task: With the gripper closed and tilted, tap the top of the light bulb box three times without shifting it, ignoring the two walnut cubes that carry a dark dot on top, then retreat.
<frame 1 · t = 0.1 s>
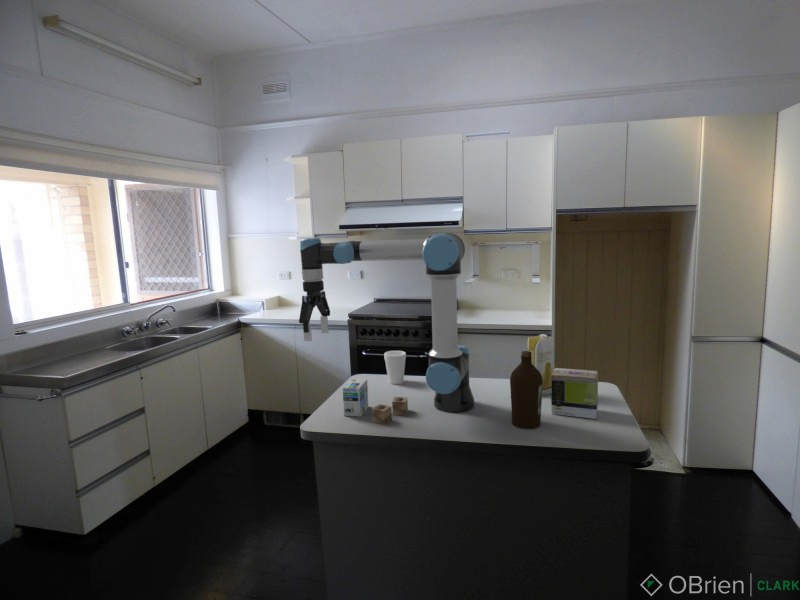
hand: (316, 336, 180), 28 cm above the table, tool pointing down, fingers open, 13 cm apart
walnut cube A: (400, 412, 177), on the table
foam cup: (396, 382, 212), on the table
tea box: (574, 412, 172), on the table
walnut cube B: (382, 421, 170), on the table
light bulb box: (356, 411, 180), on the table
juice carton: (540, 393, 192), on the table
olive oil: (526, 424, 163), on the table
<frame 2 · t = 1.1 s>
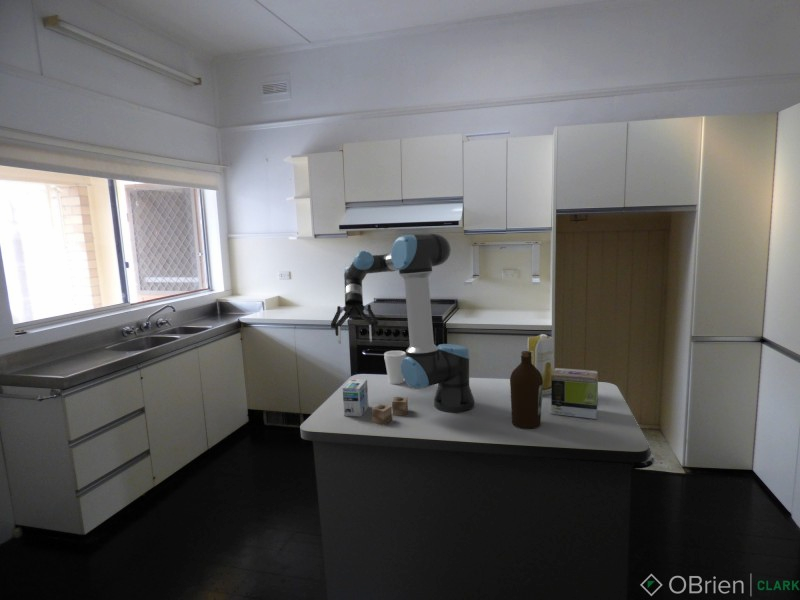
hand: (355, 341, 191), 23 cm above the table, tool tilted 45°, fingers open, 12 cm apart
nothing on the table moved.
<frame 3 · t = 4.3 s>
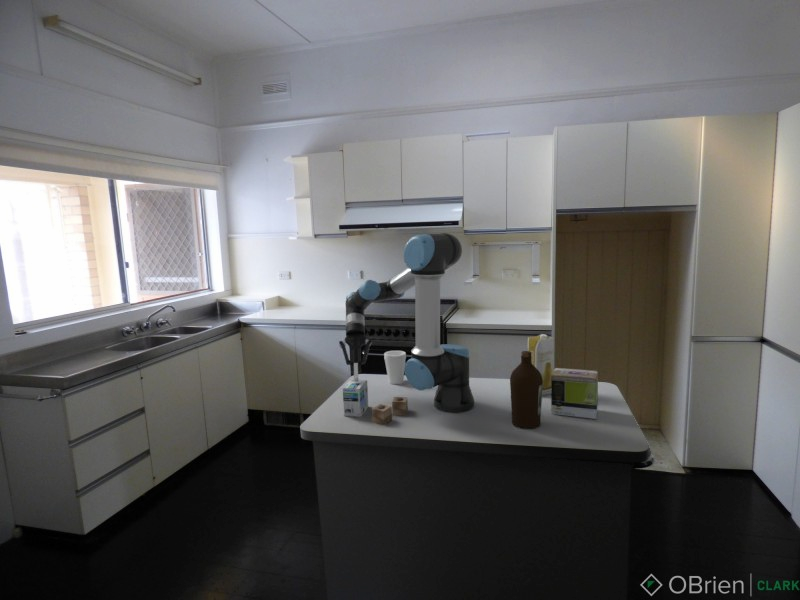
hand: (356, 380, 179), 12 cm above the table, tool tilted 45°, fingers closed
light bulb box: (356, 412, 180), on the table, touching gripper
everything else where it was.
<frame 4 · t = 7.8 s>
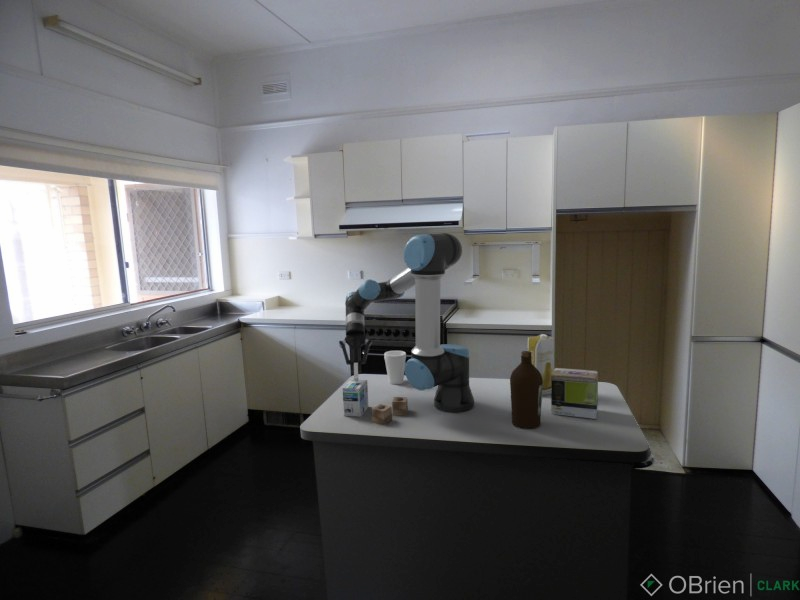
hand: (356, 379, 179), 12 cm above the table, tool tilted 45°, fingers closed
nothing on the table moved.
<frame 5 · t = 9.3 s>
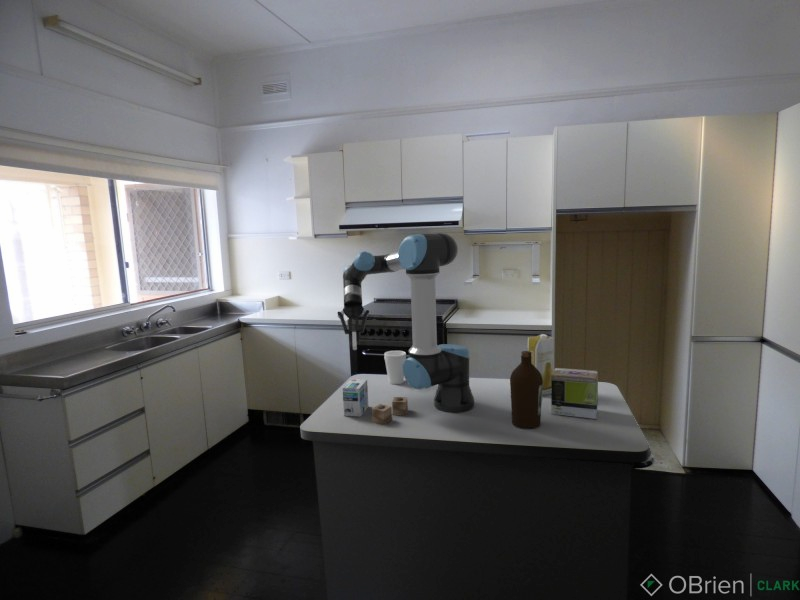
hand: (354, 348, 184), 22 cm above the table, tool tilted 45°, fingers closed
light bulb box: (356, 411, 180), on the table
everything else where it was.
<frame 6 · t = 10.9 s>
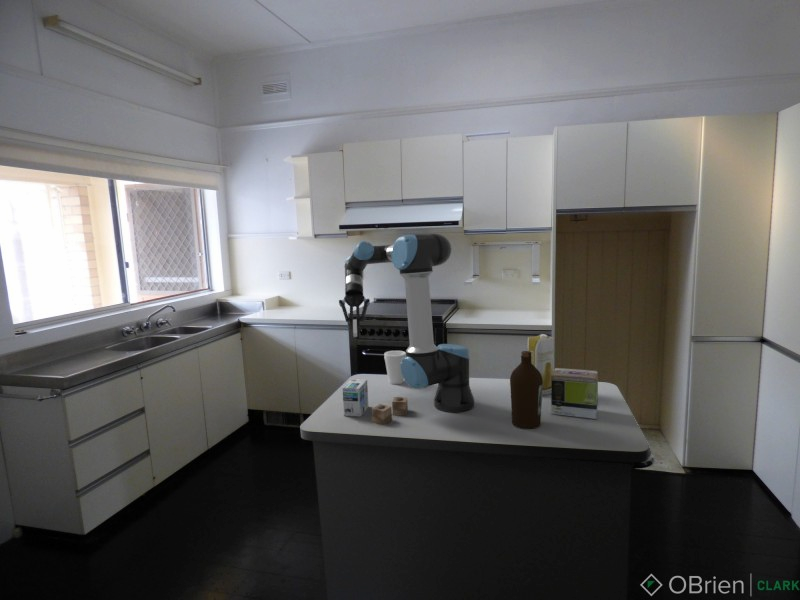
hand: (355, 335, 189), 26 cm above the table, tool tilted 45°, fingers closed
nothing on the table moved.
at the end: light bulb box moved 0.3 cm from its start; light bulb box tilted 0°; walnut cube B moved 0.1 cm from its start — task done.
